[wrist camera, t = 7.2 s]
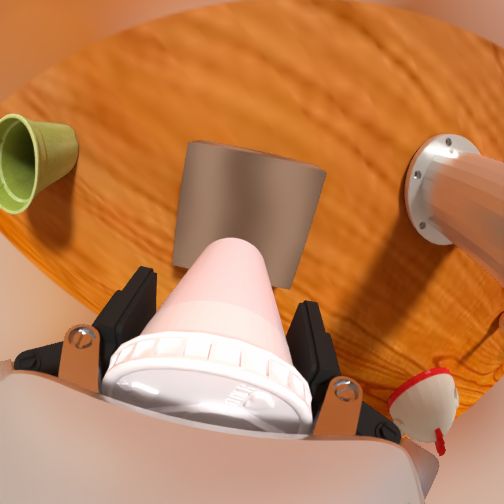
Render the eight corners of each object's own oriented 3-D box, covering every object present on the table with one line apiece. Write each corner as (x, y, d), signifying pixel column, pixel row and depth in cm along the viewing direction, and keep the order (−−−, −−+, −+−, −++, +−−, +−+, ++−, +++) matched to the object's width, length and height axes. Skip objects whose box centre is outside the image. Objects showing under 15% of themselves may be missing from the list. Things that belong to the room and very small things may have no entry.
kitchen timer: (391, 418, 44) (407, 475, 30) (382, 391, 39) (403, 463, 25) (448, 389, 40) (472, 442, 27) (450, 355, 35) (484, 419, 22)
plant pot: (102, 120, 22) (47, 125, 14) (80, 201, 26) (31, 229, 18) (47, 102, 21) (-7, 106, 13) (30, 175, 24) (-18, 195, 17)
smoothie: (280, 318, 17) (292, 559, 4) (178, 307, 17) (103, 530, 4) (298, 219, 14) (385, 560, 1) (174, 208, 14) (-15, 476, 1)
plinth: (317, 165, 24) (326, 172, 20) (286, 268, 29) (289, 289, 25) (199, 140, 23) (188, 142, 20) (183, 246, 28) (172, 264, 24)
